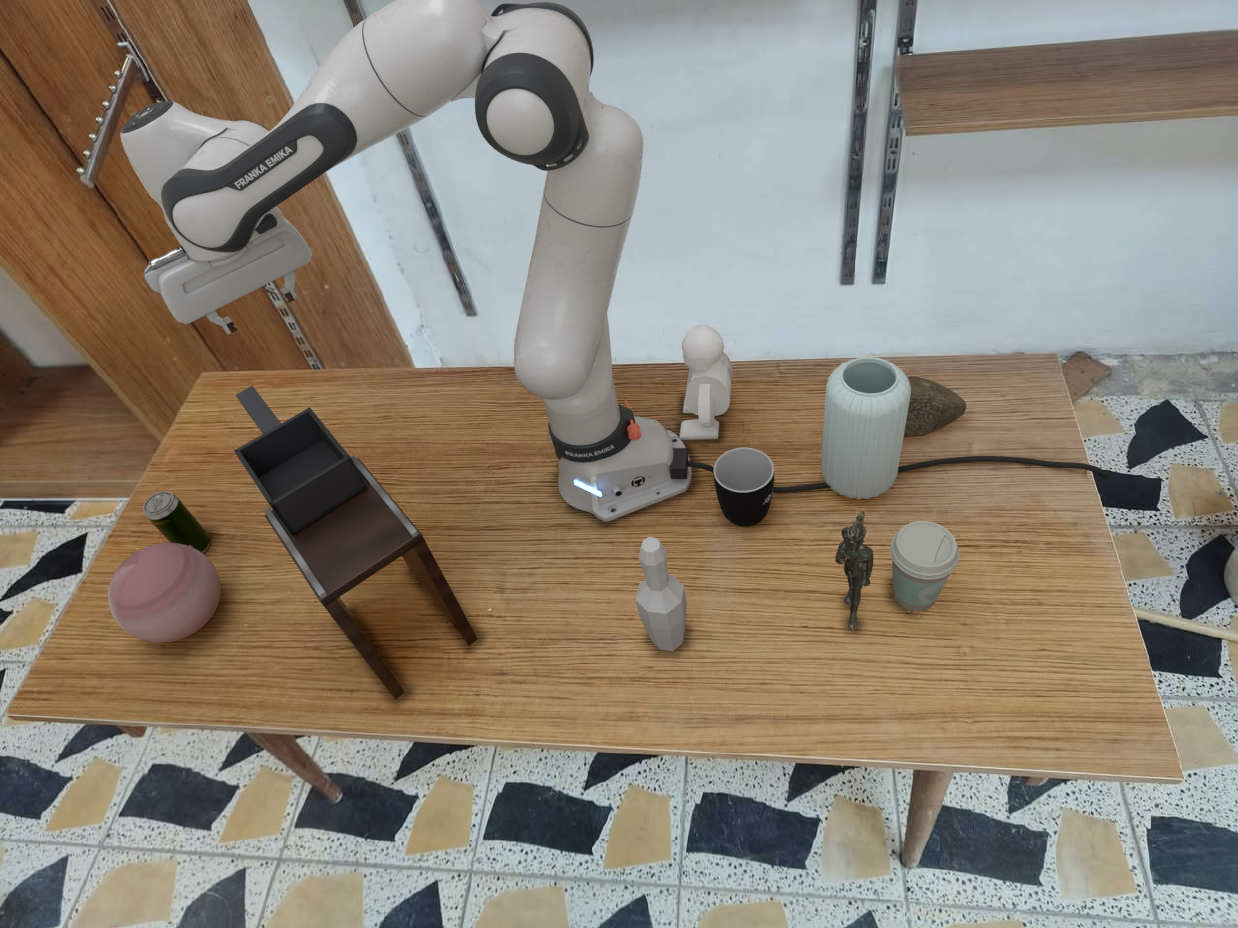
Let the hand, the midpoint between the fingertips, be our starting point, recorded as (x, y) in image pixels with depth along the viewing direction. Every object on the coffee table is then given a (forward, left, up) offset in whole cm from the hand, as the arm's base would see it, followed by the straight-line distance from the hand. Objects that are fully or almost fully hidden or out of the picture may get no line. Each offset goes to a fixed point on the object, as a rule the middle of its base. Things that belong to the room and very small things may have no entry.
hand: (262, 315), depth 118 cm
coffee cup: (-82, +46, -37) cm, 101 cm away
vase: (-82, +24, -37) cm, 93 cm away
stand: (-9, +33, -37) cm, 51 cm away
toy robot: (-62, +4, -37) cm, 73 cm away
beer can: (+28, +7, -37) cm, 47 cm away
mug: (-64, +24, -37) cm, 78 cm away
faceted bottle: (-47, +44, -37) cm, 74 cm away
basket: (-2, +20, -11) cm, 23 cm away
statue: (-72, +47, -37) cm, 94 cm away
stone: (-94, +15, -37) cm, 102 cm away
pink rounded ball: (+26, +22, -37) cm, 50 cm away
